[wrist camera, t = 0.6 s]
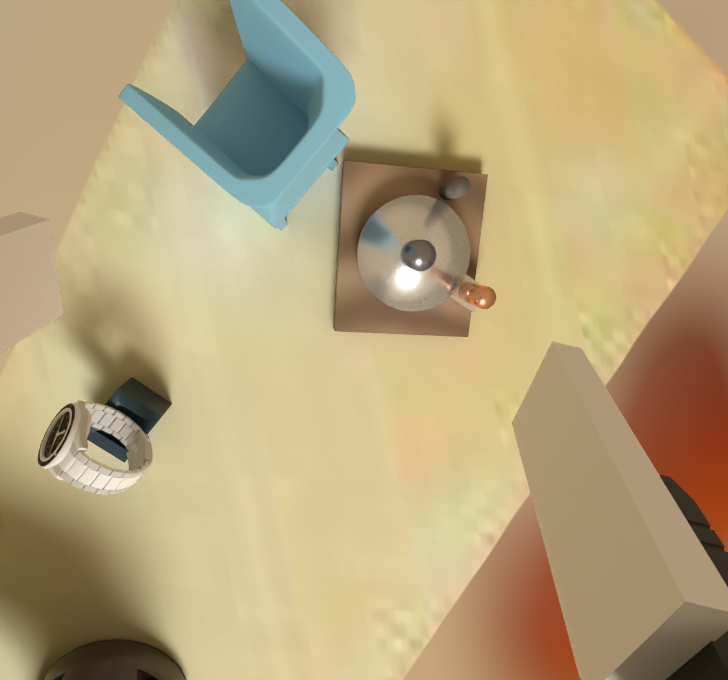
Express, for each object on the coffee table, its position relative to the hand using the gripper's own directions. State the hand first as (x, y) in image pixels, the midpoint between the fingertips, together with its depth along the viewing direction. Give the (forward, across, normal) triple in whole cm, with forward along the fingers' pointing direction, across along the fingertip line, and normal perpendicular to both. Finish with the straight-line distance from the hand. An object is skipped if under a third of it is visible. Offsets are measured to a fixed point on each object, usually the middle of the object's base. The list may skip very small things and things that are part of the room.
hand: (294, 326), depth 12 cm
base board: (+31, -4, +7) cm, 32 cm away
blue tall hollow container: (+30, +9, +2) cm, 32 cm away
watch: (+21, +18, +26) cm, 37 cm away
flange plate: (+29, -5, +7) cm, 30 cm away
